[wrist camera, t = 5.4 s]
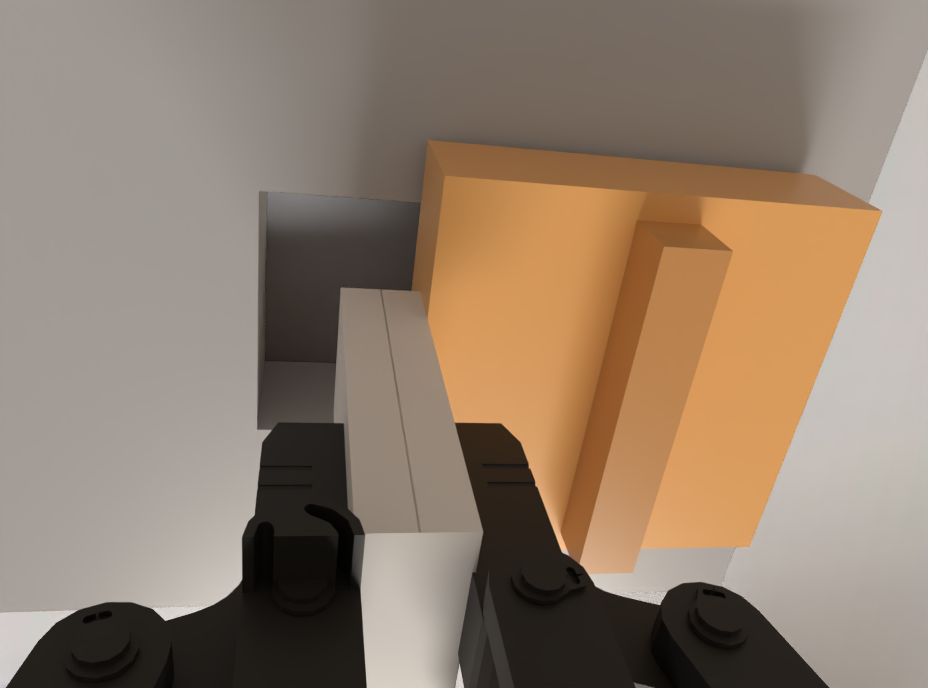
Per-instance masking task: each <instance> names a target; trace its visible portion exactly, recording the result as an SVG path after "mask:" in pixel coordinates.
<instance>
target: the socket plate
mask: <svg viewBox="0 0 928 688" xmlns="http://www.w3.org/2000/svg"><path fill="white" fill-rule="evenodd" d="M927 50H928V0H0V612H30V611H62V610H80V609H83V608H87V607H91V606H94V605H98V604H102V603H105V602H133V603H136V604H139V605H142V606H145V607H148V608H158V607H190V606H212V605H214V604H215V603H217V602H219V601H220V600H222V599H223V598H225V597H227V596H228V595H229V594H230V593H231V592H232V591H233V590H234V589H235V588H236V587H237V586H238V585H239V584H240V582H241V581H242V535H243V533H244V531H245V528H246V526H247V523H248V521H249V520H250V519H251V518H252V517H253V516H254V515H255V506H256V496H257V489H258V477H259V470H260V458H261V448H262V442H263V441H264V439H265V438H266V437H267V436H268V434H269V433H270V432H271V431H272V429H273V428H274V427H275V426H276V424H277V423H278V422H291V423H334V394H335V377H336V363H319V362H286V361H265V307H266V225H267V192H280V193H294V194H307V195H321V196H335V197H348V198H362V199H376V200H389V201H403V202H417V203H421V199H422V189H423V180H424V171H425V162H426V152H427V143H428V140H434V141H446V142H457V143H468V144H479V145H490V146H501V147H512V148H523V149H535V150H546V151H557V152H568V153H579V154H590V155H601V156H613V157H624V158H635V159H646V160H657V161H668V162H679V163H690V164H702V165H713V166H724V167H735V168H746V169H757V170H768V171H779V172H791V173H802V174H813V175H817V176H819V177H821V178H822V179H824V180H826V181H828V182H830V183H832V184H833V185H835V186H837V187H839V188H841V189H843V190H844V191H846V192H848V193H850V194H852V195H854V196H856V197H857V198H859V199H861V200H863V201H865V202H867V203H869V200H870V198H871V195H872V193H873V190H874V187H875V185H876V182H877V180H878V177H879V175H880V172H881V169H882V167H883V164H884V162H885V159H886V156H887V154H888V151H889V149H890V146H891V143H892V141H893V138H894V136H895V133H896V131H897V128H898V125H899V123H900V120H901V118H902V115H903V112H904V110H905V107H906V105H907V102H908V99H909V97H910V94H911V92H912V89H913V87H914V84H915V81H916V79H917V76H918V74H919V71H920V68H921V66H922V63H923V61H924V58H925V55H926V53H927ZM734 550H735V547H711V548H659V549H640V552H639V555H638V558H637V562H636V565H635V568H634V571H633V573H610V574H588V575H589V576H590V578H591V579H592V581H593V582H594V585H595V586H596V587H598V588H600V589H602V590H604V591H606V592H609V593H637V592H668V590H670V589H672V588H674V587H676V586H678V585H680V584H682V583H691V582H704V583H708V584H713V585H717V586H721V584H722V581H723V578H724V576H725V573H726V571H727V568H728V565H729V563H730V560H731V558H732V555H733V552H734ZM561 551H562V553H564V554H566V555H569V553H568V551H567V550H561Z"/></svg>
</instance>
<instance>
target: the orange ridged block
mask: <svg viewBox="0 0 928 688" xmlns="http://www.w3.org/2000/svg"><path fill="white" fill-rule="evenodd" d="M881 214H882V211H881V210H879V209H878V208H876V207H874V206H872V205H870V204H868V203H867V202H865V201H863V200H861V199H859V198H857V197H856V196H854V195H852V194H850V193H848V192H846V191H844V190H843V189H841V188H839V187H837V186H835V185H833V184H832V183H830V182H828V181H826V180H824V179H822V178H821V177H819V176H817V175H813V174H802V173H791V172H779V171H768V170H757V169H746V168H735V167H724V166H713V165H702V164H690V163H679V162H668V161H657V160H646V159H635V158H624V157H613V156H601V155H590V154H579V153H568V152H557V151H546V150H535V149H523V148H512V147H501V146H490V145H479V144H468V143H457V142H446V141H434V140H428V143H427V152H426V162H425V171H424V180H423V189H422V199H421V208H420V217H419V226H418V235H417V245H416V254H415V263H414V272H413V282H412V291H420V293H421V297H422V301H423V304H424V308H425V312H426V316H427V319H428V323H429V327H430V330H431V334H432V338H433V342H434V346H435V350H436V353H437V357H438V361H439V365H440V369H441V372H442V376H443V380H444V384H445V388H446V392H447V395H448V399H449V403H450V407H451V411H452V414H453V418H454V422H455V423H501V424H502V425H503V426H504V427H506V428H507V429H508V430H509V431H510V432H511V433H512V434H513V435H514V436H515V437H516V438H517V439H518V440H519V441H520V442H521V445H522V447H523V450H524V453H525V455H526V458H527V461H528V463H529V468H530V469H531V471H532V474H533V477H534V479H535V486H536V487H538V490H539V493H540V495H541V498H542V501H543V503H544V506H545V509H546V511H547V514H548V517H549V519H550V522H551V525H552V527H553V530H554V533H555V535H556V538H557V541H558V543H559V546H560V549H561V550H567V551H568V553H569V556H570V557H571V558H572V559H574V560H575V561H576V562H578V563H579V564H580V565H581V566H583V567H584V569H585V570H586V572H587V573H588V574H610V573H633V571H634V568H635V565H636V562H637V558H638V555H639V552H640V549H659V548H711V547H749V546H750V544H751V541H752V539H753V536H754V534H755V531H756V529H757V526H758V524H759V521H760V518H761V516H762V513H763V511H764V508H765V506H766V503H767V501H768V498H769V496H770V493H771V491H772V488H773V486H774V483H775V481H776V478H777V476H778V473H779V471H780V468H781V466H782V463H783V461H784V458H785V456H786V453H787V450H788V448H789V445H790V443H791V440H792V438H793V435H794V433H795V430H796V428H797V425H798V423H799V420H800V418H801V415H802V413H803V410H804V408H805V405H806V403H807V400H808V398H809V395H810V393H811V390H812V387H813V385H814V382H815V380H816V377H817V375H818V372H819V370H820V367H821V365H822V362H823V360H824V357H825V355H826V352H827V350H828V347H829V345H830V342H831V340H832V337H833V335H834V332H835V330H836V327H837V325H838V322H839V319H840V317H841V314H842V312H843V309H844V307H845V304H846V302H847V299H848V297H849V294H850V292H851V289H852V287H853V284H854V282H855V279H856V277H857V274H858V272H859V269H860V267H861V264H862V262H863V259H864V257H865V254H866V251H867V249H868V246H869V244H870V241H871V239H872V236H873V234H874V231H875V229H876V226H877V224H878V221H879V219H880V216H881Z"/></svg>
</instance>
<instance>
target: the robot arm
mask: <svg viewBox="0 0 928 688" xmlns="http://www.w3.org/2000/svg"><path fill="white" fill-rule="evenodd" d="M459 663H460V667H461V673H462V678H463V683H464V688H829V687H828V686H827V685H826V684H825V683H824V682H823V680H822V679H821V678H820V677H819V676H818V675H817V674H816V673H815V672H814V671H813V670H812V668H811V667H810V666H809V665H808V664H807V663H806V662H805V661H804V660H803V659H802V657H801V656H800V655H799V654H798V653H797V652H796V651H795V650H794V649H793V648H792V647H791V645H790V644H789V643H788V642H787V641H786V640H785V639H784V638H783V637H782V636H781V634H780V633H779V632H778V631H777V630H776V629H775V628H774V627H773V626H772V625H771V624H770V622H769V621H768V620H767V619H766V618H765V617H764V616H763V615H762V614H761V613H760V611H758V610H757V609H756V608H755V607H754V606H753V605H751V604H750V603H749V602H748V601H747V600H745V599H744V598H743V597H742V596H740V595H738V594H736V593H734V592H732V591H730V590H728V589H726V588H724V587H721V586H717V585H713V584H708V583H704V582H691V583H682V584H680V585H678V586H676V587H674V588H672V589H670V590H668V592H667V594H666V595H665V597H664V599H663V600H662V602H661V605H656V604H652V603H647V602H643V601H639V600H635V599H630V598H626V597H622V596H618V595H615V594H612V593H609V592H606V591H604V590H602V589H600V588H598V587H596V586H595V585H594V582H593V581H592V579H591V578H590V576H589V575H588V573H587V572H586V570H585V569H584V567H583V566H581V565H580V564H579V563H578V562H576V561H575V560H574V559H572V558H571V557H570V556H569V555H566V554H564V553H562V551H561V549H560V546H559V543H558V541H557V538H556V535H555V533H554V530H553V527H552V525H551V522H550V519H549V517H548V514H547V511H546V509H545V506H544V503H543V501H542V498H541V495H540V493H539V490H538V487H536V486H535V479H534V477H533V474H532V471H531V469H530V468H529V463H528V461H527V458H526V455H525V453H524V450H523V447H522V445H521V442H520V441H519V440H518V439H517V438H516V437H515V436H514V435H513V434H512V433H511V432H510V431H509V430H508V429H507V428H506V427H504V426H503V425H502V424H501V423H455V422H454V418H453V414H452V411H451V407H450V403H449V399H448V395H447V392H446V388H445V384H444V380H443V376H442V372H441V369H440V365H439V361H438V357H437V353H436V350H435V346H434V342H433V338H432V334H431V330H430V327H429V323H428V319H427V316H426V312H425V308H424V304H423V301H422V297H421V293H420V291H403V290H382V289H361V288H341V291H340V308H339V326H338V343H337V360H336V377H335V394H334V423H291V422H278V423H277V424H276V426H275V427H274V428H273V429H272V431H271V432H270V433H269V434H268V436H267V437H266V438H265V439H264V441H263V442H262V448H261V458H260V470H259V477H258V489H257V496H256V506H255V515H254V516H253V517H252V518H251V519H250V520H249V521H248V523H247V526H246V528H245V531H244V533H243V535H242V581H241V582H240V584H239V585H238V586H237V587H236V588H235V589H234V590H233V591H232V592H231V593H230V594H229V595H228V596H227V597H225V598H223V599H222V600H220V601H219V602H217V603H215V604H214V605H212V606H210V607H207V608H205V609H202V610H200V611H197V612H194V613H191V614H188V615H184V616H181V617H178V618H174V619H171V620H167V621H165V620H164V619H163V618H162V617H161V616H159V615H158V614H157V613H156V612H155V611H154V610H153V609H151V608H148V607H145V606H142V605H139V604H136V603H133V602H105V603H102V604H98V605H94V606H91V607H87V608H83V609H80V610H78V611H76V612H75V613H73V614H71V615H69V616H68V617H66V618H64V619H62V620H61V621H59V622H57V623H56V624H55V625H54V626H53V627H52V628H51V629H50V630H49V631H48V632H47V633H46V634H45V635H44V636H43V637H42V638H41V639H40V640H39V641H38V642H37V644H36V645H35V647H34V648H33V650H32V651H31V652H30V654H29V655H28V657H27V658H26V660H25V661H24V662H23V664H22V665H21V667H20V668H19V670H18V671H17V673H16V674H15V675H14V677H13V678H12V680H11V681H10V683H9V684H8V685H7V687H6V688H455V685H456V679H457V674H458V668H459Z"/></svg>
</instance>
